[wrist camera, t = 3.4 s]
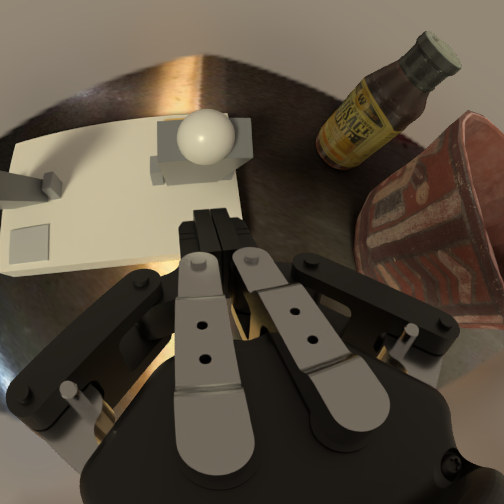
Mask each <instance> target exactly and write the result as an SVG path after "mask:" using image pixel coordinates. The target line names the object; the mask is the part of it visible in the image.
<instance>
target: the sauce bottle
mask: <svg viewBox="0 0 504 504" xmlns="http://www.w3.org/2000/svg"><path fill="white" fill-rule="evenodd" d="M461 67H462V65H461V62H460V60H459V59H458V57H457V55H456V54H455V53H454V52H453V50H452V49H451V48H450V47H449V46H448V45H447V44H446V43H445V42H444V41H443V40H441V38H439V37H438V36H437V35H435V34H434V33H432V32H430V31H425V32H424V33H423V34H422V35H420V36H419V37H418V38H417V41H416V44H415V45H414V46H413V47H412V48H411V49H410V50H409V51H408V52H407V53H406V54H405V55H404V56H402V57H401V58H400V59H399V60H397V61H395V62H393V63H391V64H389V65H388V66H385V67H383V68H381V69H379V70H377V71H375V72H373V73H371V74H370V75H368V76H366V77H364V79H363V80H362V81H361V82H360V83H359V84H358V85H357V86H356V88H355V89H354V90H353V91H352V92H351V93H350V94H349V95H348V97H347V98H346V99H345V100H344V101H343V102H342V103H341V105H340V106H339V107H338V108H337V110H336V111H335V112H334V113H333V114H332V115H331V117H330V118H329V119H328V120H327V122H326V123H325V124H324V125H323V126H322V127H321V130H320V132H319V133H318V134H317V138H316V148H317V151H318V153H319V155H320V156H321V158H322V159H323V160H324V161H325V162H326V163H327V164H328V165H329V166H331V167H332V168H336V169H339V170H349V169H351V168H353V167H356V166H358V165H360V164H361V163H362V162H363V161H364V160H366V159H367V158H368V157H370V156H371V155H372V154H373V153H375V152H376V151H377V150H379V149H380V148H381V147H383V146H384V145H385V144H386V143H388V142H389V141H390V140H392V139H393V138H394V137H395V136H397V135H398V134H399V133H401V132H402V131H403V130H404V129H405V128H406V127H407V126H408V125H409V124H410V123H412V122H413V121H415V120H416V119H417V118H419V117H420V116H421V114H422V113H423V111H424V109H425V105H426V100H427V97H428V95H429V92H431V91H433V90H434V89H435V87H436V86H437V85H438V84H439V83H441V81H443V80H444V79H445V78H446V77H448V76H452V75H455V74H456V73H457V72H458V71H459V70H460V69H461Z"/></svg>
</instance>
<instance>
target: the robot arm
mask: <svg viewBox="0 0 504 504" xmlns="http://www.w3.org/2000/svg"><path fill="white" fill-rule="evenodd" d="M178 231H179V244H180V256H181V260H180V262H179V267H178V268H177V269H176V270H174V271H173V272H171V273H169V274H167V275H164V276H161V277H160V275H159V274H158V273H157V272H156V271H154V270H151V269H138V270H135V271H132V272H130V273H129V274H127V275H126V276H125V277H124V278H122V279H121V280H120V281H119V282H118V283H117V284H115V285H114V286H113V287H112V288H111V289H109V290H108V291H107V292H106V293H105V294H104V295H102V296H101V297H100V298H99V299H98V300H97V301H96V302H94V303H93V304H92V305H91V306H90V307H89V308H88V309H87V310H85V311H84V312H83V313H82V314H81V315H80V316H79V317H78V318H76V319H75V320H74V321H73V322H72V323H71V324H70V325H69V326H68V327H67V328H66V329H64V330H63V331H62V332H61V333H60V334H59V335H58V336H57V337H56V338H55V339H54V340H53V341H52V342H51V343H50V344H49V345H48V346H46V347H45V348H44V349H43V350H42V351H41V352H40V353H39V354H38V355H37V356H36V357H35V358H34V359H33V360H32V361H31V362H30V363H29V364H28V365H27V366H26V367H25V368H24V369H23V370H22V371H21V372H20V373H19V374H18V375H17V376H16V377H15V378H14V380H13V381H12V382H11V383H10V385H9V386H8V389H7V392H6V403H7V406H8V408H9V410H10V411H11V412H12V413H13V414H14V415H15V416H16V417H17V418H19V419H20V420H21V421H22V422H23V423H24V424H25V425H26V426H27V427H28V428H29V429H30V430H32V431H33V432H34V433H35V434H37V435H38V436H39V437H41V438H42V439H43V440H45V441H46V442H47V443H48V444H49V445H50V446H51V447H52V448H53V449H54V450H55V451H56V452H57V453H58V454H59V455H60V456H61V457H62V458H63V459H64V460H65V461H66V462H67V463H68V464H69V465H70V466H71V467H72V468H73V469H74V470H75V471H77V472H78V473H79V474H80V475H81V477H80V493H81V497H82V501H83V503H84V504H504V475H503V474H502V473H500V472H499V471H497V470H495V469H492V468H487V467H481V466H478V465H475V464H473V463H471V462H469V461H467V460H466V459H465V458H463V457H462V455H461V454H460V453H459V451H458V449H457V447H456V444H455V440H454V436H453V432H452V424H451V414H450V410H449V406H448V404H447V402H446V400H445V399H444V397H443V396H442V395H441V393H440V392H439V391H438V390H436V385H437V381H438V377H439V372H440V368H441V363H442V358H443V356H444V355H445V353H446V352H447V351H448V349H449V348H450V347H451V345H452V344H453V343H454V341H455V340H456V338H457V337H458V335H459V333H460V328H459V325H458V323H457V321H456V320H455V319H454V318H453V317H452V316H451V315H450V314H448V313H446V312H444V311H442V310H440V309H438V308H435V307H433V306H431V305H429V304H427V303H425V302H423V301H420V300H418V299H416V298H414V297H412V296H410V295H407V294H405V293H403V292H401V291H399V290H396V289H394V288H392V287H390V286H388V285H385V284H383V283H381V282H379V281H376V280H374V279H372V278H370V277H367V276H365V275H363V274H361V273H358V272H356V271H354V270H352V269H349V268H347V267H345V266H343V265H340V264H338V263H336V262H333V261H331V260H329V259H327V258H324V257H322V256H320V255H317V254H313V253H301V254H298V255H296V256H295V257H294V258H293V262H292V263H282V262H276V261H273V260H272V258H271V257H270V255H269V254H268V253H267V252H266V251H264V250H262V249H259V248H258V247H257V245H256V243H255V241H254V239H253V237H252V235H251V234H250V231H249V229H248V227H247V225H246V223H245V222H244V221H243V220H241V219H240V218H238V217H232V218H230V216H229V214H228V211H227V209H226V208H213V209H210V211H209V209H200V210H193V221H183V222H182V223H181V224H180V226H179V227H178ZM322 294H323V295H325V296H327V297H329V298H331V299H334V300H336V301H338V302H340V303H342V304H344V305H346V306H347V307H348V308H349V309H350V310H351V314H352V315H351V317H346V316H344V315H342V314H340V313H338V312H336V311H334V310H332V309H330V308H328V307H326V306H324V305H322V304H320V299H321V296H322ZM227 298H231V301H232V314H233V317H234V319H235V322H236V324H237V327H238V329H239V332H240V334H241V336H242V339H243V340H233V338H232V332H231V327H230V321H229V315H228V309H227V303H226V299H227ZM173 333H175V356H173V357H171V358H169V359H168V360H166V361H165V362H164V363H162V364H161V365H160V366H159V367H158V368H157V369H156V370H155V371H154V372H153V373H152V375H151V376H150V377H149V379H148V380H147V381H146V383H145V384H144V385H143V387H142V388H141V389H140V391H139V392H138V393H137V395H136V396H135V397H134V399H133V400H132V401H131V403H130V404H129V405H128V407H127V408H126V409H125V411H124V412H123V413H122V415H121V416H120V417H119V419H118V420H117V421H116V423H115V416H114V412H113V408H114V407H115V406H116V405H117V403H118V402H119V401H120V400H121V399H122V397H123V396H124V395H125V394H126V393H127V391H128V390H129V389H130V388H131V387H132V385H133V384H134V383H135V382H136V381H137V379H138V378H139V377H140V376H141V375H142V373H143V372H144V371H145V370H146V369H147V367H148V366H149V365H150V364H151V363H152V361H153V360H154V359H155V358H156V357H157V355H158V354H159V353H160V352H161V351H162V349H163V348H164V347H165V346H166V345H167V343H168V342H169V341H170V339H171V336H172V334H173ZM114 423H115V424H114Z"/></svg>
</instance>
